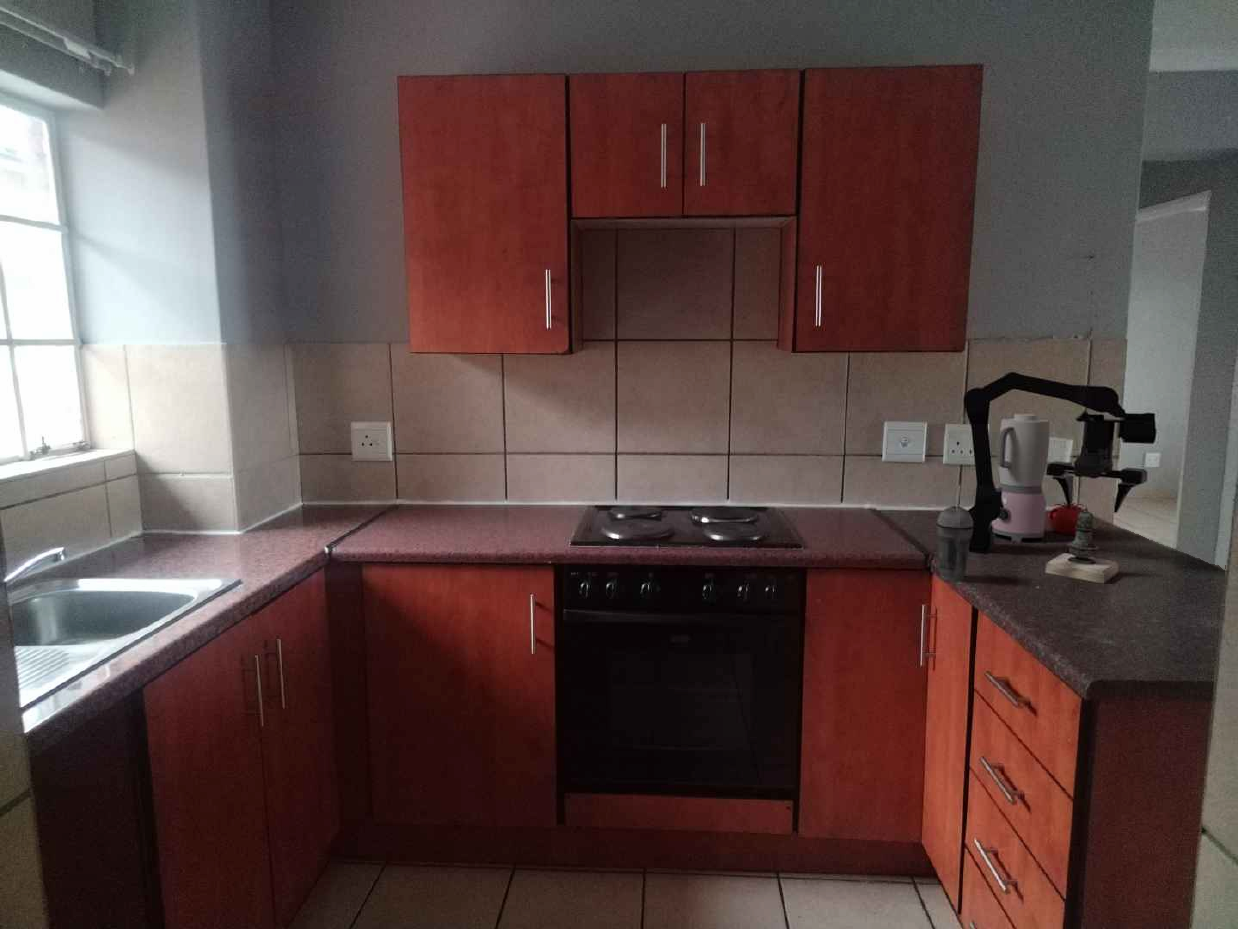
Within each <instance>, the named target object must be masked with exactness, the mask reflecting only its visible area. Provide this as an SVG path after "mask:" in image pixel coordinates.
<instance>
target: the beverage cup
mask: <svg viewBox="0 0 1238 929" xmlns="http://www.w3.org/2000/svg"><path fill="white" fill-rule="evenodd" d="M961 488H962V486H961V484H959V485H958V487H957V494H956V495H957V496H956V497H957V498H956V506H955V505H953V506H948V507H946V508H944V510H942V511H941V513H940V514H939V515H938V518H937V521H936V526H937V527H936V528H937V534H938V548H939V551H938V552H939V554H938V555H939V572H940V578H941V579H942V580H944V581H945V580H946V581H948V582H949V581H950V582H962V581H964V579H965V573H966V568H967V562H968V557H969V552H970V551H969V545H970V538H971V536H972V533H973V528H974V525H973V519H972V517H971V515H970V513H969V512H968V509H965V508H964V507H963V506H960V498H961V490H962V489H961Z"/></svg>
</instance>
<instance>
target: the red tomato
mask: <svg viewBox="0 0 1238 929" xmlns="http://www.w3.org/2000/svg"><path fill="white" fill-rule="evenodd" d="M1073 500H1074V499H1073ZM1073 500H1072V505H1071V507H1068V505H1067V502H1066V501H1065V502H1064V501H1063V502H1061V503H1056V504H1053V506H1054V508H1052V510H1050V511H1049V513H1048V515H1047V522H1048V524H1049V528H1050V529H1051V531H1052V532H1055V533H1059V534H1062V535H1069V534H1070V535H1069V536H1076V529H1075V527H1076V526H1077V519H1078V514H1079V513H1080V512H1083V511H1085V510H1084V509H1085V508H1087V506H1086V505H1084V504H1082V503H1078V504H1076V503H1073ZM1055 506H1057V507H1055ZM1081 506H1082V507H1081ZM1084 507H1085V508H1084Z"/></svg>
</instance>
